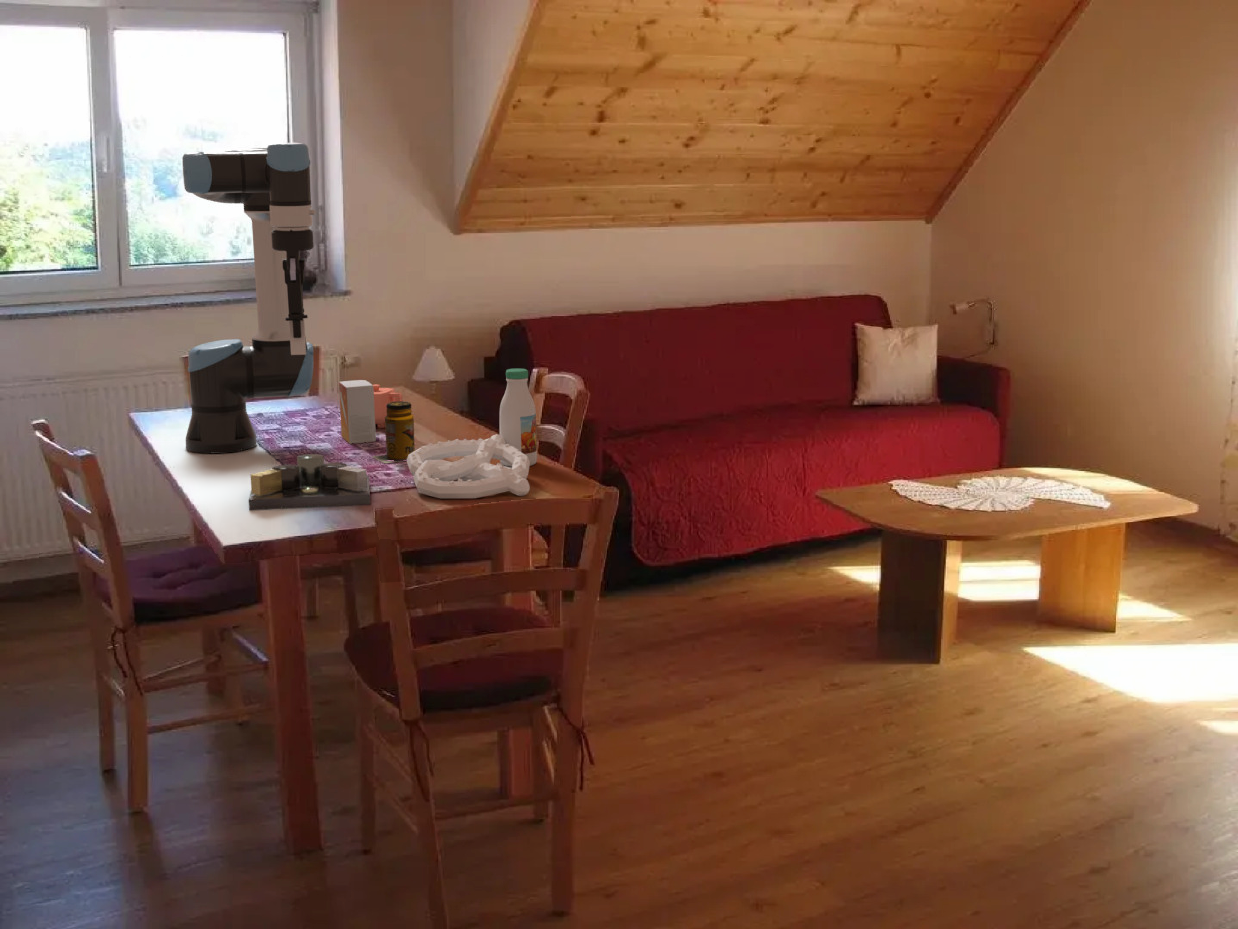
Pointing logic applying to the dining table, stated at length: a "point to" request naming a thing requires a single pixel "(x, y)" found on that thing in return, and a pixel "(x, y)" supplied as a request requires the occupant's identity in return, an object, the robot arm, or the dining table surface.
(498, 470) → the pretzel
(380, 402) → the teapot
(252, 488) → the brass lever knob
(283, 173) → the robot arm
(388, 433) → the condiment
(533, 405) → the milk bottle
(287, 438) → the dining table surface
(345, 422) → the small box
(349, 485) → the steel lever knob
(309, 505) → the base plate
